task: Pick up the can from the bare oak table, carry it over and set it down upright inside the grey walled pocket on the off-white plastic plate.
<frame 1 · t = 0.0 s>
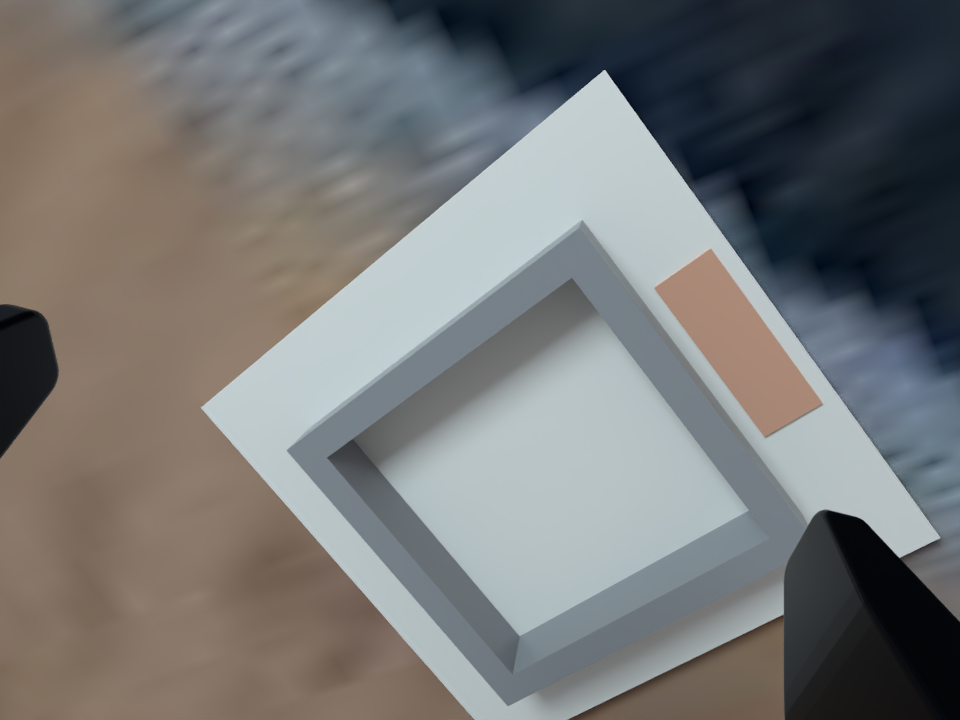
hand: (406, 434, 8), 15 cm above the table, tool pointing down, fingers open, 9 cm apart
collar plate: (546, 460, 25), on the table
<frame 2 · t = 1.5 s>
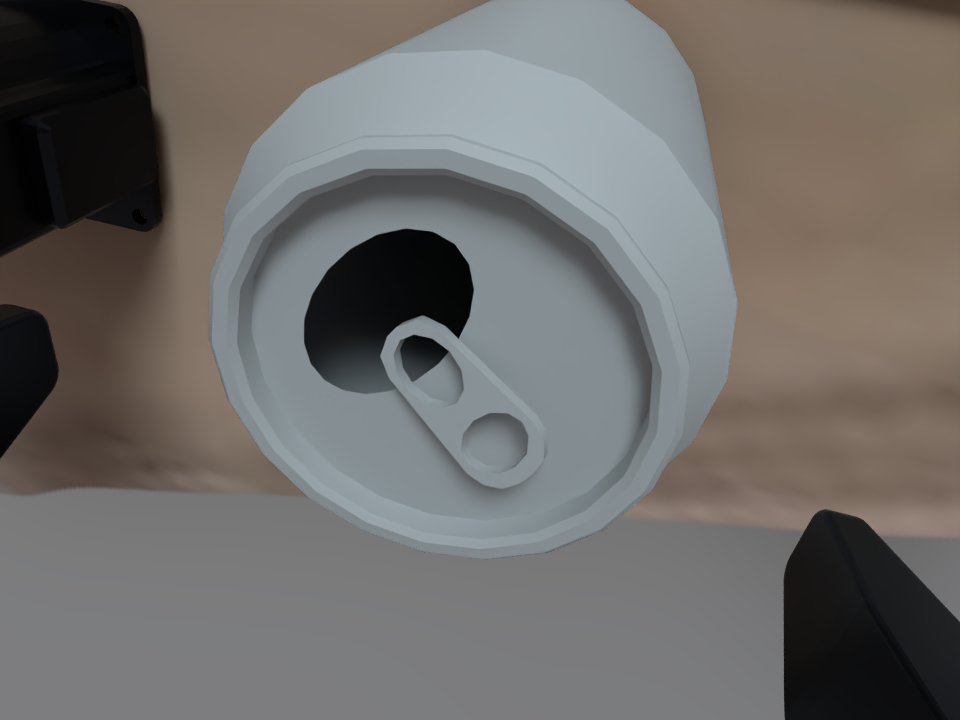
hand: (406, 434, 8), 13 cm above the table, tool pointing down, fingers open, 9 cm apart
can: (556, 138, 19), on the table
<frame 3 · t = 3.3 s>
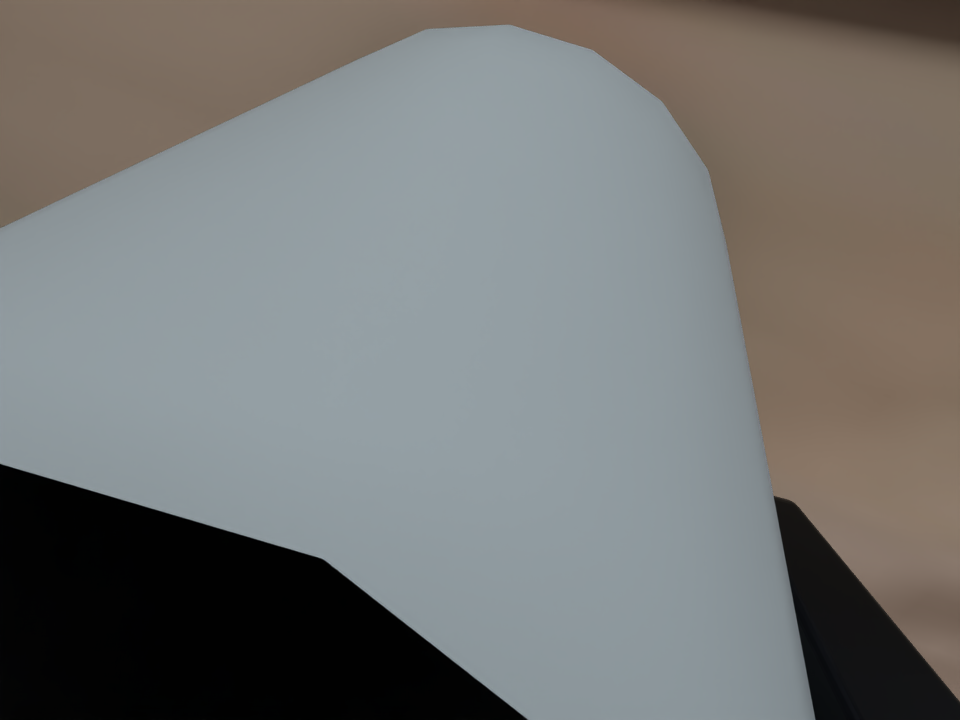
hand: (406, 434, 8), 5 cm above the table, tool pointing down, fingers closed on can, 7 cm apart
can: (498, 248, 13), on the table, touching gripper
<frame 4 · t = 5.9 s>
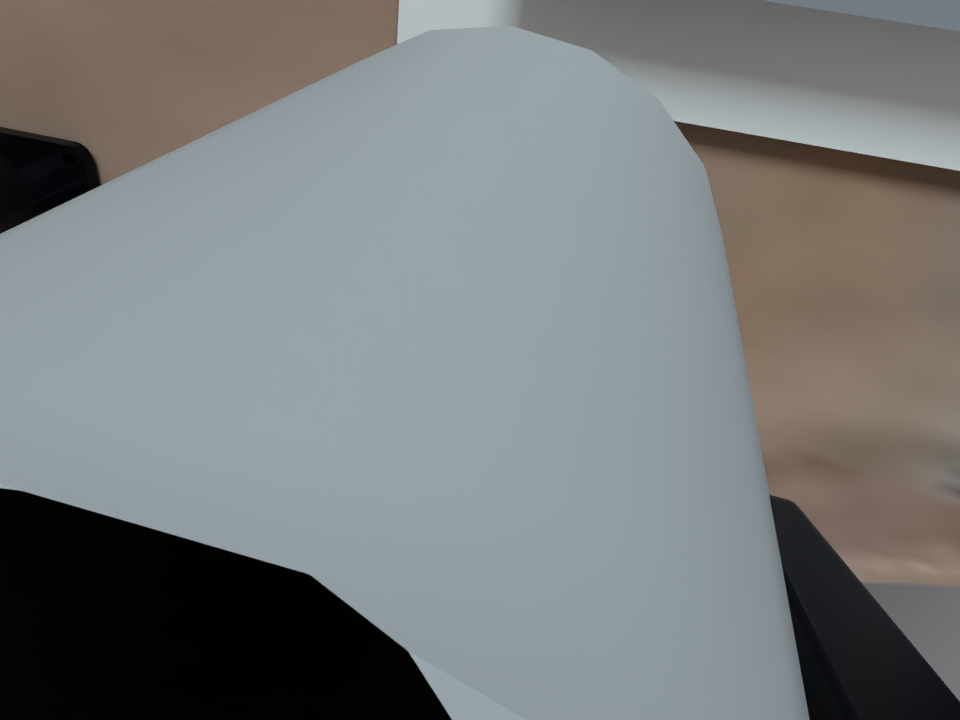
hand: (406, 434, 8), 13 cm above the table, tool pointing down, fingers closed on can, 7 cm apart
can: (499, 245, 13), point 7 cm above the table, touching gripper
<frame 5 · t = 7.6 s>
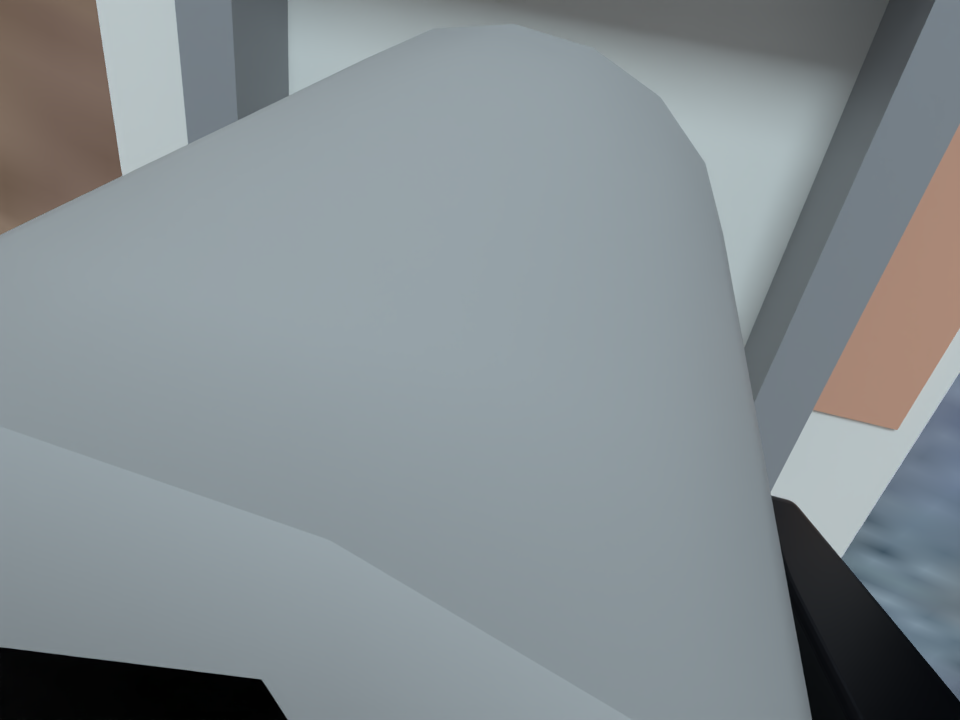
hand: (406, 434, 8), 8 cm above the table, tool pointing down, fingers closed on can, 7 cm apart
collar plate: (530, 195, 15), on the table
can: (502, 241, 13), point 2 cm above the table, touching gripper
when the fingers open (7 cm above the table, at t = 8.7 s): can stays where it is, resting on collar plate.
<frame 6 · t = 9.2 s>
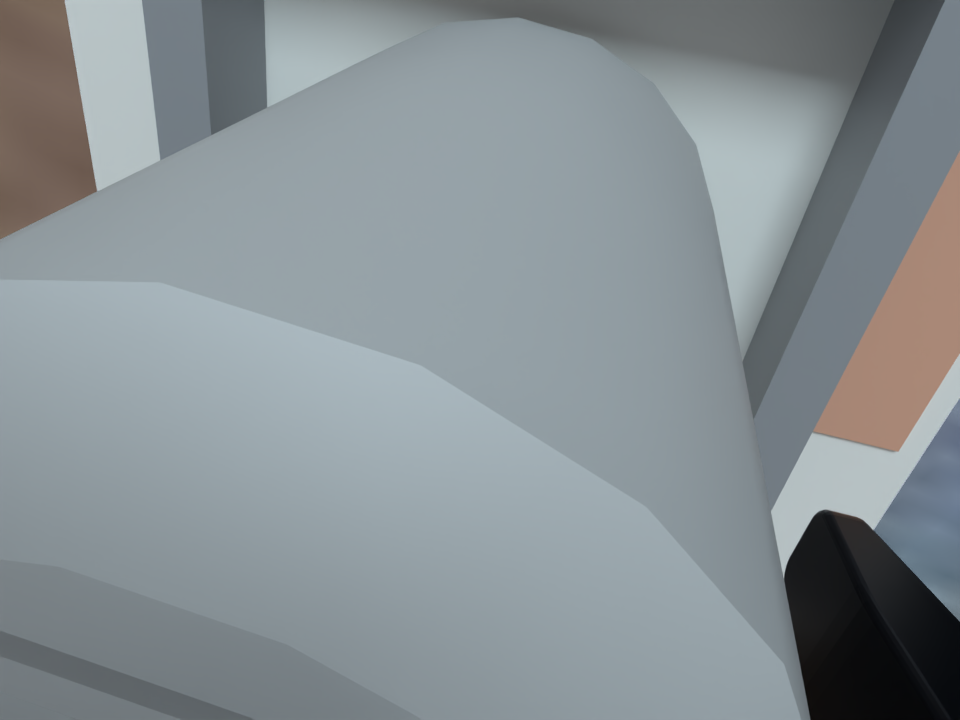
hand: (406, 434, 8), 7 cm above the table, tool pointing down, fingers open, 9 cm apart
collar plate: (518, 210, 14), on the table
can: (508, 222, 14), resting on collar plate
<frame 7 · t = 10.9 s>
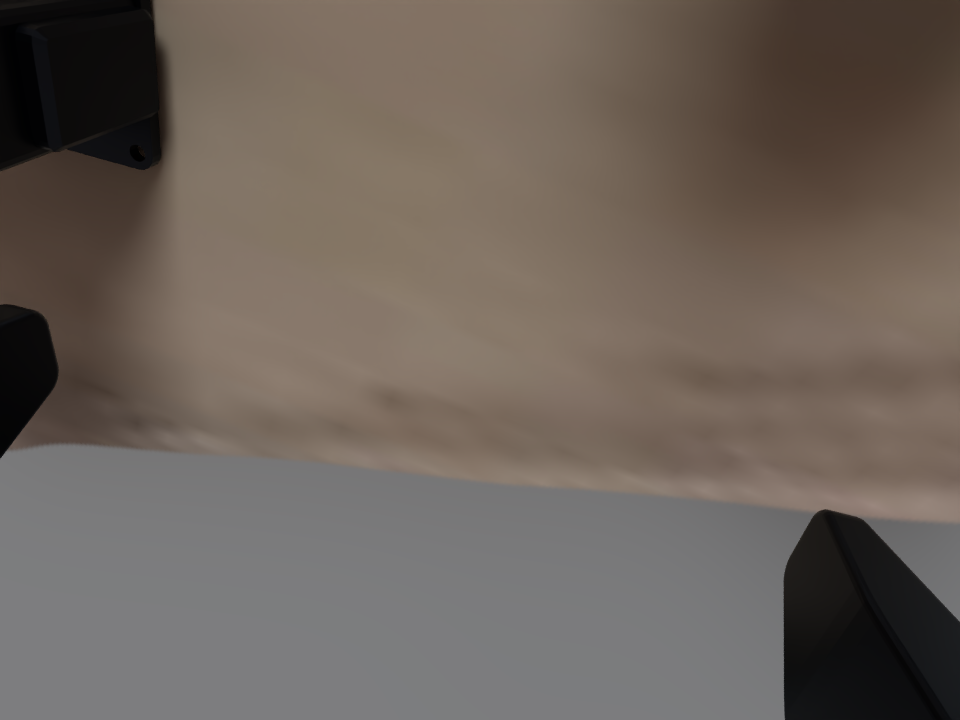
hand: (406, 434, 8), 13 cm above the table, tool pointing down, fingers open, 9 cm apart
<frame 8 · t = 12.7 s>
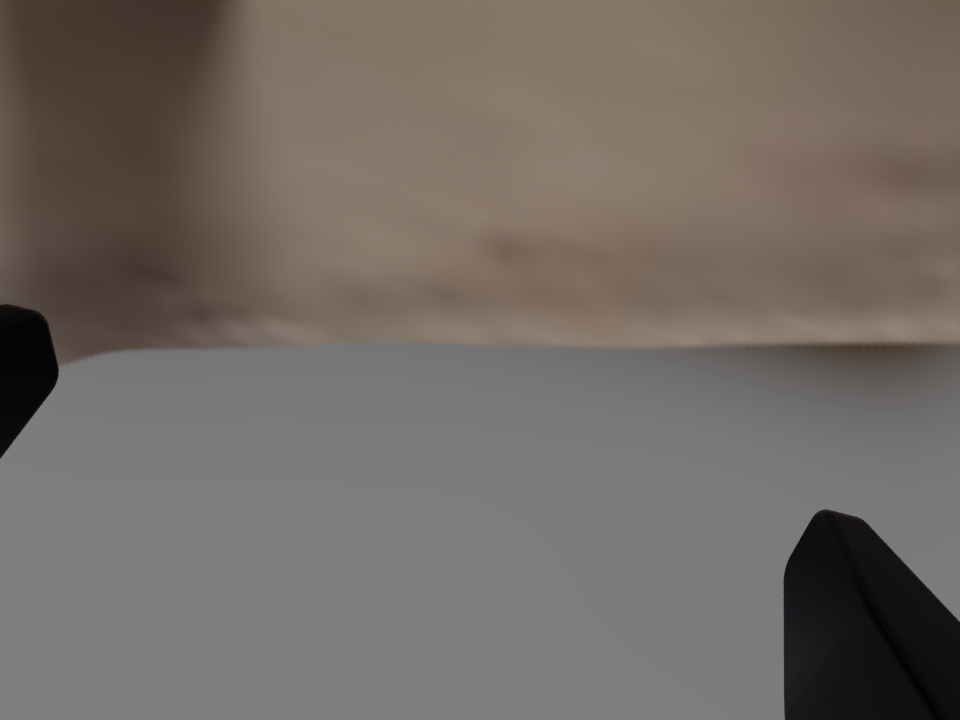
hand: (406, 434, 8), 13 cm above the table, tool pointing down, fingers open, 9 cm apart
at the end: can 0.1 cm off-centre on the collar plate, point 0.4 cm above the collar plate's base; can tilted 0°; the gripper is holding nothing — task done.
